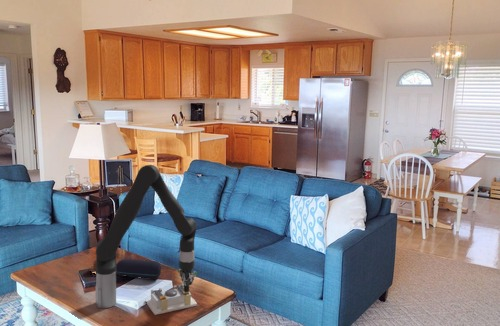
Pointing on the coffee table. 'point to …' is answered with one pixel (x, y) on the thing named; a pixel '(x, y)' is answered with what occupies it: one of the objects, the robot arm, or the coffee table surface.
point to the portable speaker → (139, 268)
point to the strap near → (159, 295)
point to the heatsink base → (170, 308)
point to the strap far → (182, 290)
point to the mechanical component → (192, 273)
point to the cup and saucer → (94, 266)
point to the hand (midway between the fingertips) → (186, 291)
